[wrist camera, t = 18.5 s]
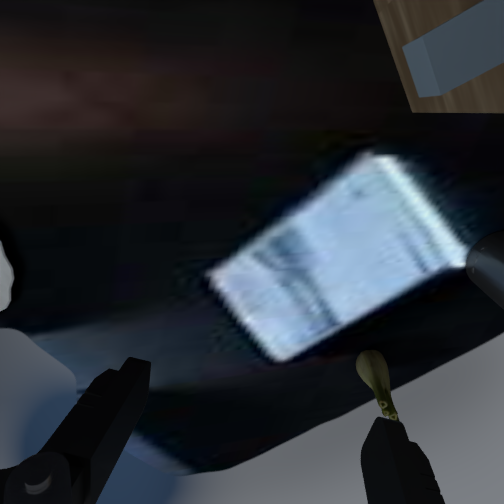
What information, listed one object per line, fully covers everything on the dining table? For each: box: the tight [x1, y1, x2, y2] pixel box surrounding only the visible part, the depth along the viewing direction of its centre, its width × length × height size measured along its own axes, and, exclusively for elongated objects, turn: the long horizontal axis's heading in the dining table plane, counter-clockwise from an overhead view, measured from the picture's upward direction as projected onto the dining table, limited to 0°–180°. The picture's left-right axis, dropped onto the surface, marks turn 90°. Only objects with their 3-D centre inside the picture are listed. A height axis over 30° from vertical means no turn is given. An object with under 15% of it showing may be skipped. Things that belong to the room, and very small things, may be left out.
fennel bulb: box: [356, 350, 400, 422], centre depth 52 cm, size 6×5×12 cm
